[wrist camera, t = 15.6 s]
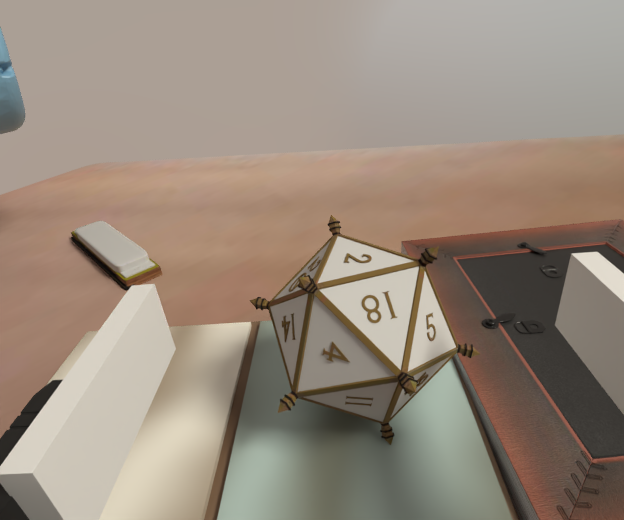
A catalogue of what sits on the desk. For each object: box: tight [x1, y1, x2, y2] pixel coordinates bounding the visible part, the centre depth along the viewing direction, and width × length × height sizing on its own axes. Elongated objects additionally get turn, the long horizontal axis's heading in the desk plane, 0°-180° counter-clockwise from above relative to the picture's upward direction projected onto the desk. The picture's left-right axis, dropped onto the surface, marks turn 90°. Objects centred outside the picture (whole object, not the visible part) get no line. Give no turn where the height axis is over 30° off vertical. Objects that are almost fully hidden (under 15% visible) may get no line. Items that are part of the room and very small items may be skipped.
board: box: [48, 321, 518, 520], centre depth 21 cm, size 22×13×1 cm, turn 88°
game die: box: [250, 215, 480, 445], centre depth 18 cm, size 9×8×10 cm
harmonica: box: [71, 221, 162, 290], centre depth 38 cm, size 15×3×2 cm, turn 42°
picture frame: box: [401, 219, 624, 520], centre depth 23 cm, size 16×2×22 cm
